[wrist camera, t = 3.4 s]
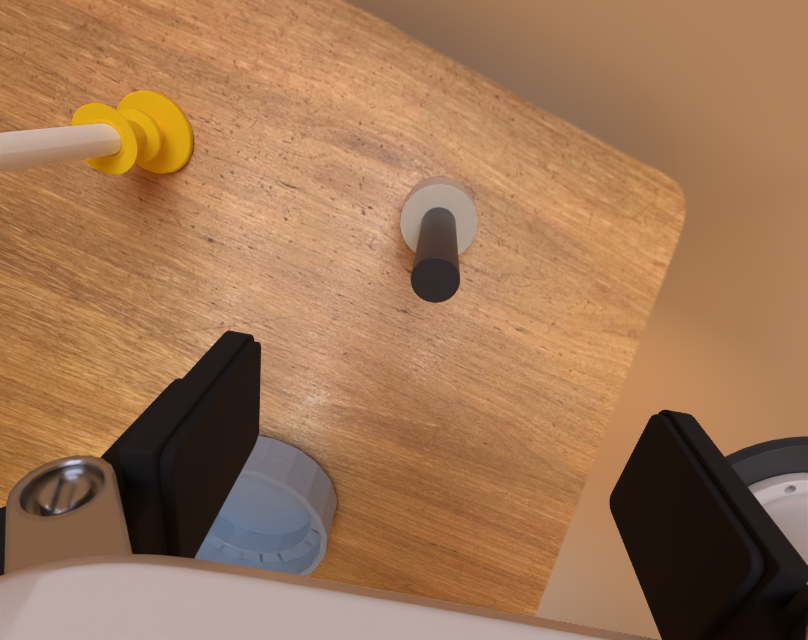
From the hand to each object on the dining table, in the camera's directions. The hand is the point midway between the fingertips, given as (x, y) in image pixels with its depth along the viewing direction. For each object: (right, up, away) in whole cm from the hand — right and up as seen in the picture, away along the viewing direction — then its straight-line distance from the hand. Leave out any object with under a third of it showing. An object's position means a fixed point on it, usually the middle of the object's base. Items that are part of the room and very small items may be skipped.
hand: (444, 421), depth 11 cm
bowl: (-15, -14, +35) cm, 40 cm away
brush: (+1, +10, +21) cm, 23 cm away
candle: (-18, +15, +21) cm, 31 cm away
